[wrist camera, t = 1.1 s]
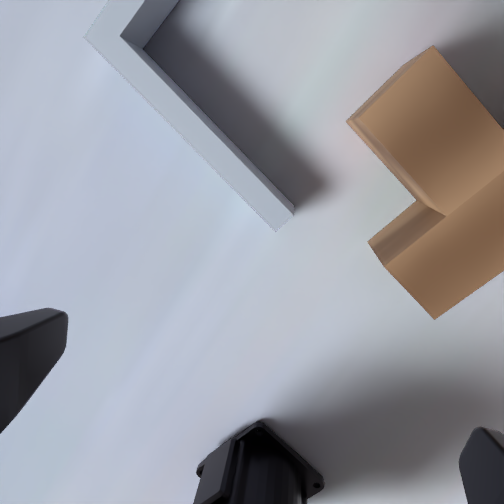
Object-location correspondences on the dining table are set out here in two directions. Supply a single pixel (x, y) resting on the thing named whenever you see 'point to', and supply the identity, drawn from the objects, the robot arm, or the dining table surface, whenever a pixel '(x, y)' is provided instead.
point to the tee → (438, 181)
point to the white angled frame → (179, 101)
